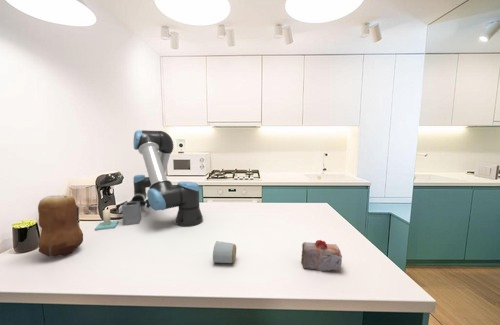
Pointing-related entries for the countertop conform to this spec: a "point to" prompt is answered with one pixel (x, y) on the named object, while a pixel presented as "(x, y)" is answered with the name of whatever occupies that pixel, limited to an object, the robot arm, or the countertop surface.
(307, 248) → the food item
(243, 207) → the countertop surface
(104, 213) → the shaft post
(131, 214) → the gray box
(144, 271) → the countertop surface
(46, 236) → the butternut squash
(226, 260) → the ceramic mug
